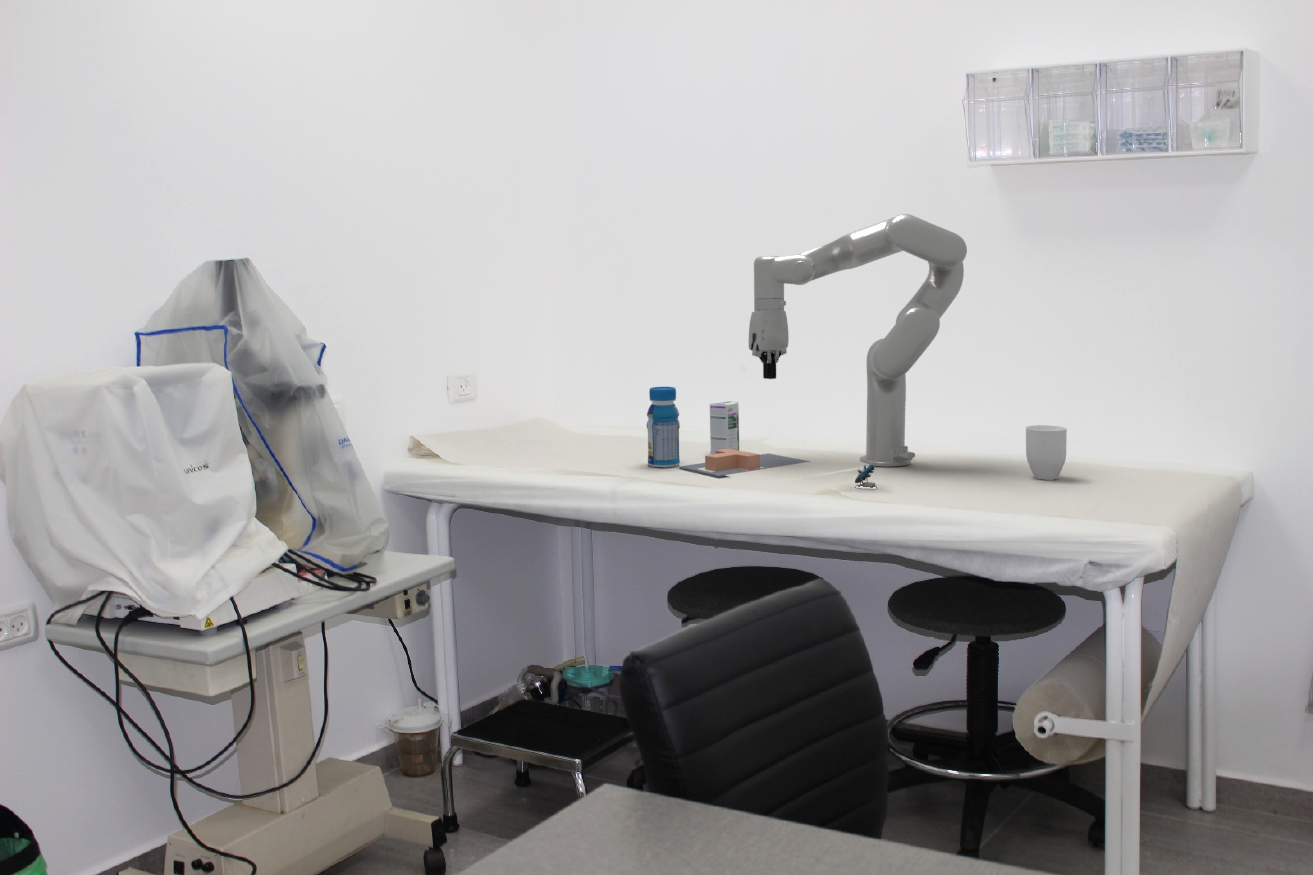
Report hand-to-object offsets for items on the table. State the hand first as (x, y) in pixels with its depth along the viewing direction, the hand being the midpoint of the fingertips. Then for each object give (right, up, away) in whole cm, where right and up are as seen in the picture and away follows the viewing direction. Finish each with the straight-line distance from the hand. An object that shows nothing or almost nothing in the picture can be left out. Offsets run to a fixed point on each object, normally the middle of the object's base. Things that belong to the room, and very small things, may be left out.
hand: (769, 378), depth 259 cm
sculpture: (+18, -27, -30) cm, 44 cm away
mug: (+62, -24, -21) cm, 70 cm away
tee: (-11, -23, -5) cm, 26 cm away
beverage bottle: (-27, -22, +2) cm, 35 cm away
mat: (-6, -22, -1) cm, 23 cm away
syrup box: (-10, -20, +15) cm, 27 cm away
